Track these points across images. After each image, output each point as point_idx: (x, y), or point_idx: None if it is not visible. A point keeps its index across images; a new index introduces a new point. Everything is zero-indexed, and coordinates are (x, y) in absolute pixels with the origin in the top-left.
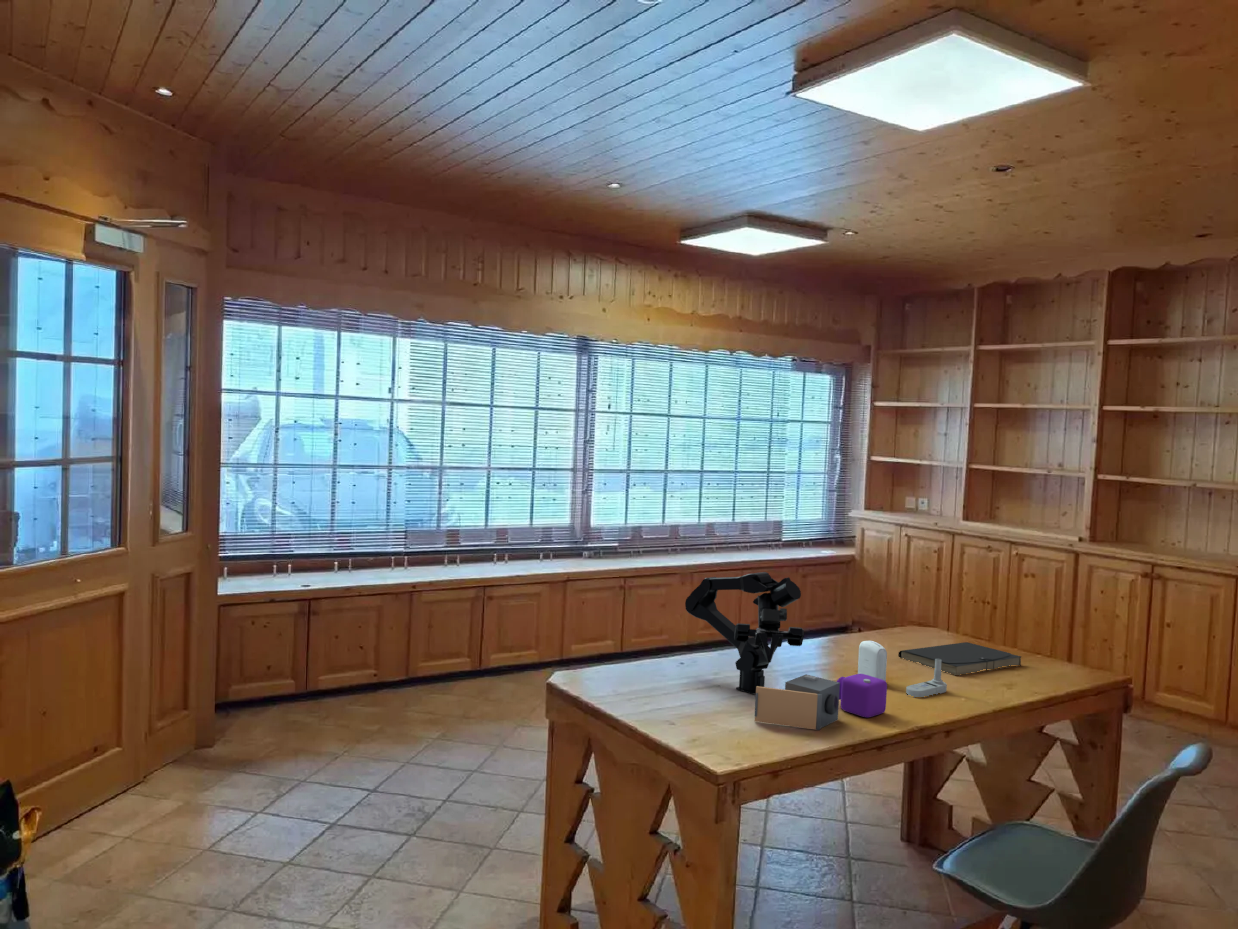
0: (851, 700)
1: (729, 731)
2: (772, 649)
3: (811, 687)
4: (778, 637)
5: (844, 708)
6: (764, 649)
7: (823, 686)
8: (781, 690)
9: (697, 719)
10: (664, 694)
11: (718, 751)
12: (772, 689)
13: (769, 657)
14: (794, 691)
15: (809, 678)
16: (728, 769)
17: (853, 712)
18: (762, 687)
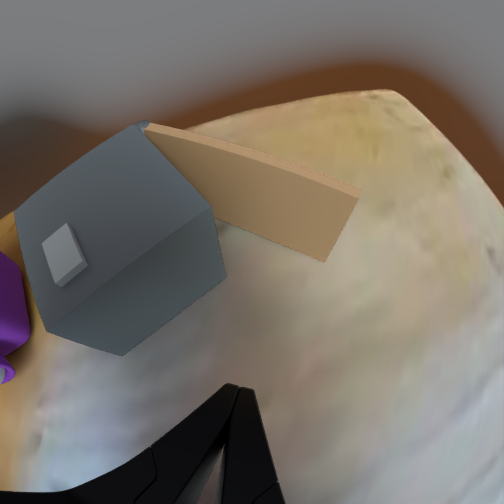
0: (7, 290)
1: (393, 202)
2: (174, 452)
3: (135, 150)
4: (4, 497)
5: (27, 321)
6: (275, 483)
7: (87, 164)
8: (261, 152)
9: (458, 280)
10: (494, 458)
11: (404, 130)
12: (296, 165)
13: (234, 403)
14: (213, 141)
15: (75, 239)
16: (384, 91)
17: (24, 296)
18: (336, 181)
